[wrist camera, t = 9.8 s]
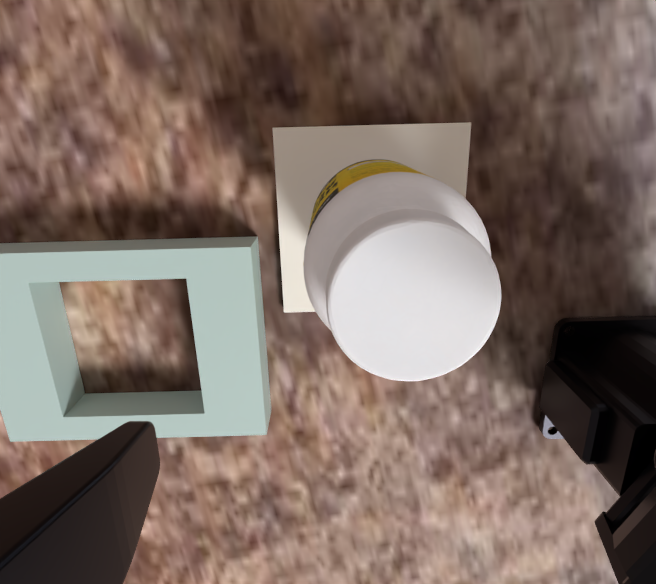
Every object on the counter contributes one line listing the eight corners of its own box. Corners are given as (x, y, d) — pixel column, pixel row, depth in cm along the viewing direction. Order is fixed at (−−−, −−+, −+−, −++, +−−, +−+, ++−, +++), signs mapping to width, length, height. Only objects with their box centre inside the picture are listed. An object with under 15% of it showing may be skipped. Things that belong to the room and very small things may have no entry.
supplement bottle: (314, 152, 18) (304, 170, 9) (445, 163, 18) (567, 192, 9) (306, 278, 20) (290, 401, 11) (425, 287, 20) (510, 415, 11)
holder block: (257, 236, 20) (250, 247, 18) (271, 410, 23) (266, 434, 21) (-13, 243, 20) (-48, 254, 18) (36, 416, 23) (10, 441, 21)
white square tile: (468, 122, 18) (471, 122, 18) (454, 304, 21) (457, 307, 21) (273, 127, 18) (272, 127, 18) (284, 309, 21) (283, 312, 21)
